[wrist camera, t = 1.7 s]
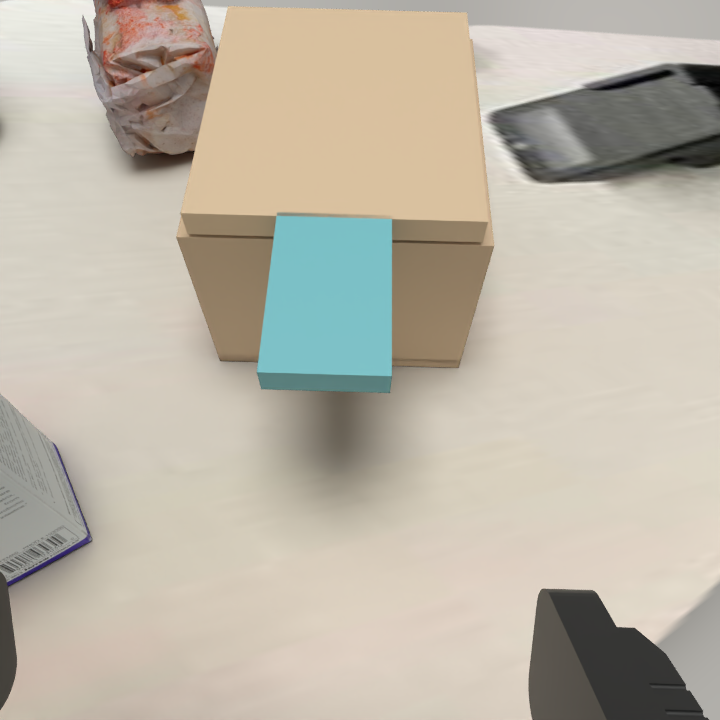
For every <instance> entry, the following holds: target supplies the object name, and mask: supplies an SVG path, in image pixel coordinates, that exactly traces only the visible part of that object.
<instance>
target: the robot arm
mask: <svg viewBox="0 0 720 720" xmlns="http://www.w3.org/2000/svg"><path fill="white" fill-rule="evenodd" d="M16 667H17V655H16V647H15V640H14V632H13V624H12V616H11V608H10V601H9V593H8V585H7V581H6V578H5V576H4V575H3V573H2V572H0V710H1V708H2V707H3V705H4V704H5V702H6V700H7V698H8V696H9V694H10V691H11V689H12V686H13V682H14V679H15V674H16ZM529 701H530V709H531V715H532V720H709V719H708V718H705V717H704V716H703V710H702V709H701V707H700V706H699V704H698V703H697V701H696V700H695V698H694V696H693V695H692V693H691V692H690V691H687V690H686V684H685V683H684V681H683V680H682V678H681V677H680V675H679V674H678V672H677V671H676V669H675V667H674V666H673V664H672V663H671V661H670V660H669V658H668V657H667V655H666V654H665V653H664V652H663V651H662V650H661V649H659V648H658V647H657V646H656V645H655V644H653V643H652V642H651V641H650V640H649V639H647V638H646V637H645V636H644V635H642V634H641V633H640V632H639V631H638V630H636V629H635V628H622V627H616V625H615V623H614V622H613V620H612V618H611V617H610V615H609V613H608V611H607V610H606V608H605V606H604V604H603V603H602V601H601V599H600V598H599V596H598V594H597V593H596V592H595V591H593V590H568V589H542V590H541V591H540V593H539V595H538V600H537V607H536V616H535V625H534V634H533V643H532V652H531V661H530V670H529Z"/></svg>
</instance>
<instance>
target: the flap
mask: <svg viewBox="0 0 720 720" xmlns="http://www.w3.org/2000/svg"><path fill="white" fill-rule="evenodd" d="M181 216H182V219H183V222H184V225H185V228H186V231H187V234H202V235H238V236H273V237H274V240H273V248H272V256H271V264H270V272H269V280H268V288H267V296H266V304H265V312H264V320H263V327H262V335H261V343H260V351H259V359H258V367H257V375H258V379H259V382H260V386H261V389H274V390H309V391H343V392H378V393H390V387H391V379H392V240H415V241H451V242H483V240H484V236H485V232H486V228H487V225H488V214H487V204H486V195H485V185H484V175H483V165H482V155H481V146H480V136H479V126H478V116H477V106H476V97H475V87H474V77H473V67H472V57H471V48H470V38H469V28H468V20H467V13H458V12H419V11H383V10H347V9H309V8H272V7H233V6H228V9H227V14H226V18H225V22H224V27H223V31H222V36H221V40H220V44H219V49H218V53H217V57H216V62H215V66H214V70H213V75H212V79H211V83H210V88H209V92H208V96H207V101H206V105H205V109H204V114H203V118H202V122H201V127H200V131H199V135H198V140H197V144H196V148H195V153H194V157H193V161H192V166H191V170H190V174H189V179H188V183H187V187H186V192H185V196H184V200H183V205H182V209H181Z"/></svg>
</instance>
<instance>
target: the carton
mask: <svg viewBox="0 0 720 720" xmlns="http://www.w3.org/2000/svg"><path fill="white" fill-rule="evenodd" d="M470 48H471V57H472V67H473V77H474V87H475V97H476V106H477V116H478V126H479V136H480V146H481V155H482V165H483V175H484V185H485V195H486V204H487V214H488V225H487V228H486V232H485V236H484V240H483V242H451V241H415V240H392V366H417V367H452V368H458V367H459V364H460V361H461V357H462V354H463V350H464V347H465V343H466V340H467V337H468V333H469V330H470V326H471V323H472V320H473V316H474V313H475V309H476V306H477V303H478V299H479V296H480V292H481V289H482V286H483V282H484V279H485V275H486V272H487V269H488V265H489V262H490V258H491V255H492V252H493V248H494V240H493V231H492V221H491V212H490V202H489V193H488V183H487V174H486V164H485V155H484V145H483V136H482V127H481V117H480V108H479V98H478V89H477V79H476V70H475V60H474V51H473V41H472V39H470ZM176 238H177V240H178V243H179V246H180V249H181V252H182V254H183V257H184V260H185V263H186V266H187V269H188V271H189V274H190V277H191V280H192V283H193V285H194V288H195V291H196V294H197V297H198V300H199V302H200V305H201V308H202V311H203V314H204V316H205V319H206V322H207V325H208V328H209V331H210V333H211V336H212V339H213V342H214V345H215V347H216V350H217V353H218V356H219V359H220V361H244V362H258V359H259V351H260V343H261V335H262V327H263V320H264V312H265V304H266V296H267V288H268V280H269V272H270V264H271V256H272V248H273V240H274V237H273V236H238V235H202V234H187V231H186V228H185V225H184V222H183V219H182V216H181V219H180V223H179V228H178V232H177V236H176Z"/></svg>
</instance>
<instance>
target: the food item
mask: <svg viewBox="0 0 720 720" xmlns="http://www.w3.org/2000/svg"><path fill="white" fill-rule="evenodd" d="M93 1H94V6H95V12H96V17H95V19H94V26H95V41H94V42H95V50H94V51H93V45H92V41H91V39H90V31H89V29H88V26H87V24H86V21H85V19H84V16H83V18H82V22H83V27H84V39H85V46H86V49H87V54H88V56H87V58H88V61H89V64H90V67H91V71H92V76H93V81H94V86H95V89H96V92H97V95H98V97H99V99H100V100H101V101H102V103H103V105H104V106H105V108H106V110H107V113H106V116H107V118H108V120H109V123H110V127H111V128H112V130H113V132H114V134H115V135H116V137H117V139H118V141H119V143H120V145H121V147H122V149H123V150H124V151H125V152H126V153H128V154H130V155H131V156H132V157H134V155H135V152H136V153H137V154H139V155H142V156H143V155H146V154H148V153H152V154H160V153H168V154H171V155H172V154H179V153H184V152H189V151H195V148H196V144H197V140H198V135H199V131H200V127H201V122H202V118H203V114H204V109H205V105H206V101H207V96H208V92H209V88H210V83H211V79H212V75H213V70H214V66H215V62H216V57H217V53H218V45H217V47H216V49H215V45H214V41H213V39H214V37H213V36H212V34H211V30H210V25H209V21H208V18H207V15H206V12H205V9H204V6H203V4H202V2H201V0H93Z"/></svg>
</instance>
